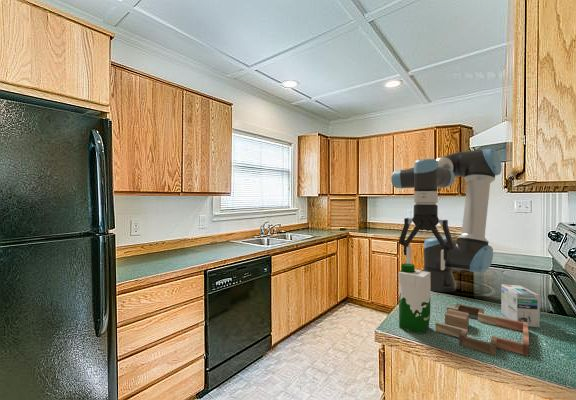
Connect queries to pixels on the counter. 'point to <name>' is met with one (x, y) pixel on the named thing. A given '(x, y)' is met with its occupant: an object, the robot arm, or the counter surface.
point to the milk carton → (414, 298)
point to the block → (457, 318)
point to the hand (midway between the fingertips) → (425, 266)
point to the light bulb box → (520, 304)
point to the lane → (501, 343)
